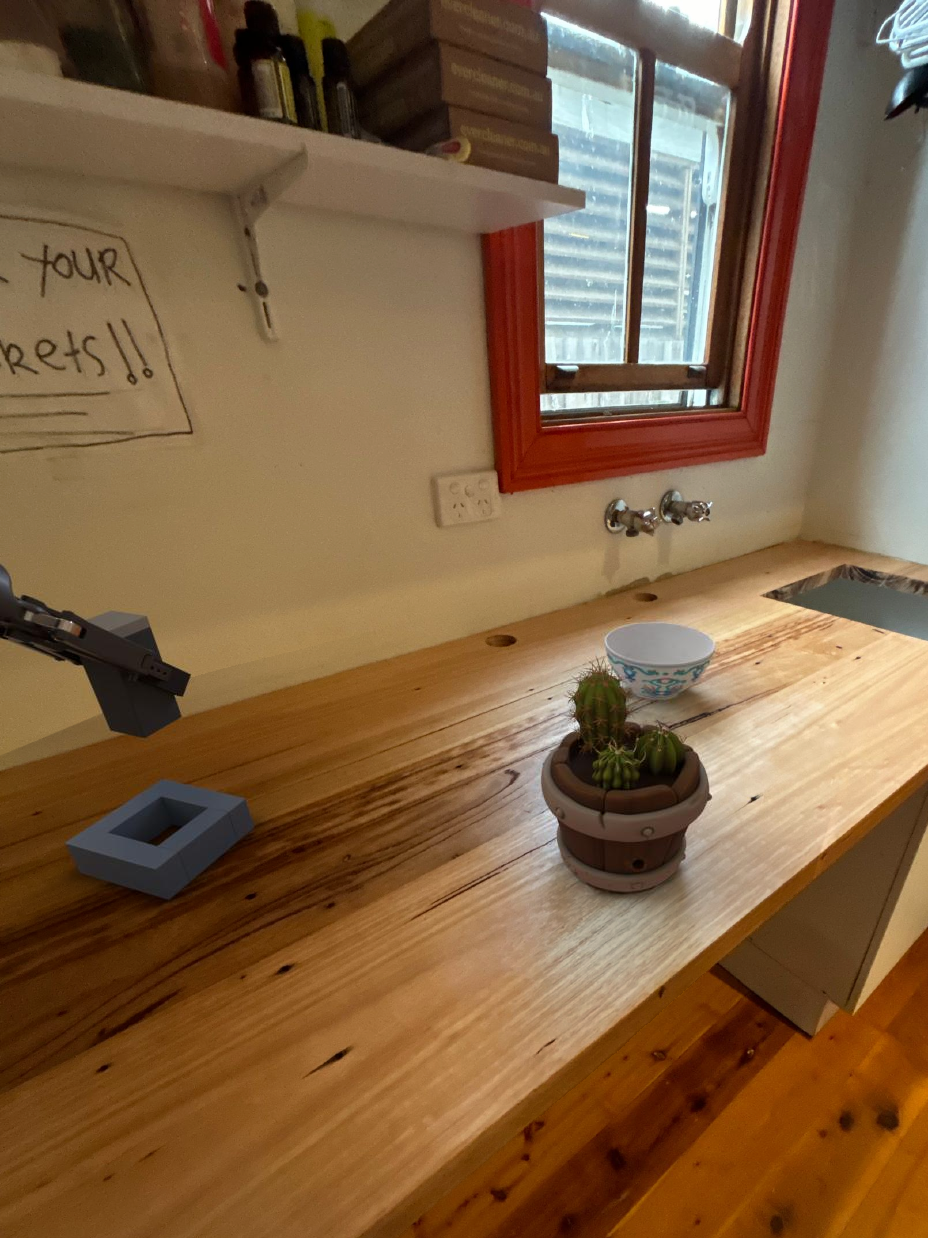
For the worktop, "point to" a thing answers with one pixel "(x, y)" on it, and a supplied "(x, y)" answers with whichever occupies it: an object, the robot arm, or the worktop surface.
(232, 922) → the worktop surface
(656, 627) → the chinaware
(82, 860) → the block
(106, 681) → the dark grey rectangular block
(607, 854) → the flowerpot
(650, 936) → the worktop surface
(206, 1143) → the worktop surface
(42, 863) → the worktop surface
